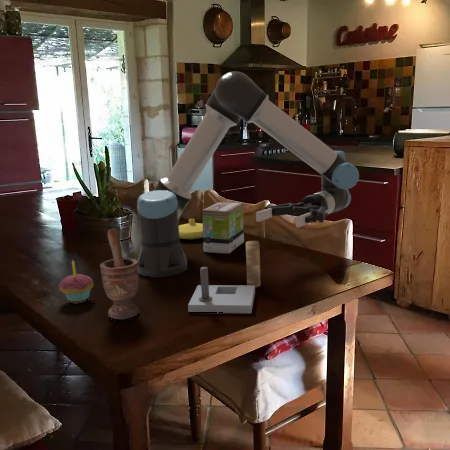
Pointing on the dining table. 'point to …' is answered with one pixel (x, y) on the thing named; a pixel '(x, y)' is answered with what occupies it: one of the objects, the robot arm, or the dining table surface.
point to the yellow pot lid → (191, 230)
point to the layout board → (221, 297)
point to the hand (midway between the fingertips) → (276, 219)
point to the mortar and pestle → (120, 280)
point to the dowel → (253, 263)
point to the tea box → (222, 227)
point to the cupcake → (76, 286)
